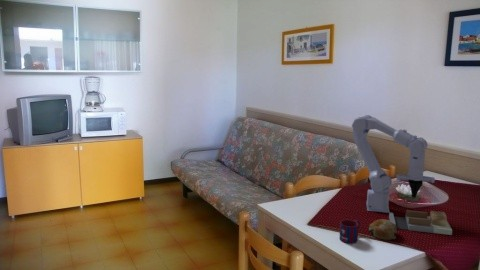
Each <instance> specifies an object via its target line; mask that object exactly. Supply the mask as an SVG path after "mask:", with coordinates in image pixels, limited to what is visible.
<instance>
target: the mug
mask: <svg viewBox="0 0 480 270" xmlns="http://www.w3.org/2000/svg"><path fill="white" fill-rule="evenodd" d="M359 230H360V221H359V220H357V219H356V220H354V219H353V220H352V219H342V220H341V221H339V240H340V242H342V243H345V244H351V245H353V244H356V243H358V241H359V240H358V239H359Z"/></svg>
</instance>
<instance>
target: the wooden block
mask: <svg viewBox="0 0 480 270" xmlns="http://www.w3.org/2000/svg"><path fill="white" fill-rule="evenodd" d="M429 214H430V215H429V217H430V220H431V223H432V225H439V226H446V220H447V219H448V218H447V217H448V216H447V215H446V213H445V212H444V211H436V210H430V213H429ZM447 221H448V220H447Z"/></svg>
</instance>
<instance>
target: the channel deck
mask: <svg viewBox="0 0 480 270" xmlns="http://www.w3.org/2000/svg"><path fill="white" fill-rule="evenodd" d="M388 220H390V222H392V223H393V224H394V225H395V226H396V228H397V230H405V231H413V232H422V233H428V234H429V233H431V234H439V235H440V234H441V235H449V236H452V235H453V229H452V227H451V225H450V223H449V222H448V220H446V226H439V225H432V223H431V220H430V215H429V216H428V212H427V211H419V210H418V211H417V210H408V209H406V211H405V217H400V216H394V212H390V211H389V213H388Z"/></svg>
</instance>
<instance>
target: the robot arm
mask: <svg viewBox="0 0 480 270" xmlns="http://www.w3.org/2000/svg"><path fill="white" fill-rule="evenodd" d="M351 127H352V140H353V142H354V143H355V145H356V147H357V150H358V152H359V154H360V156H361V158H362V159H363V162H364V164H365V166H366V168H367V170H368V171H369V172H368V173H369V176H368V178H369V181H370V187H371V189H367V195H366V196H367V197H366V202H365V203H366V211H369V212H377V213H378V212H379V213H387V214H389V212H390V208H389V200H390V187H391V186H392V184H393V183H392V178H391V177H390V176H389V175H388V173H387V172H386V170H384V169H383V168H382V167H381V166H380V163H379V161H378V159H377V157H376V156H375V153H374V151H373V148H372V147H371V145H370V143H369V141H368V139H367V136H368V133H369V131H370V130H377V131H379V132H381V133H383V134H385V135H388V136H390V137H391V138H393V142H396V143H397V144H399V145H401V146H403V147H405V148H408V150H409V153H410V154H409V163H408V173H407V174H396V181H408V185H409V187H410V191H411V198H413V199H416V198H417V195H418V193H419V190H420V189H421V187H422V186H423V184H424V183H425V182H426V183H432V184H434V183H435V181H436V178H435V177H433V176H428V175H424V170H425V169H424V168H425V157H426V149H427V148H428V142H427V140H426V139H425V138H424V137H419V136H418V135H413V134H411V133H409V132H407V129H396V128H394V127H392V126H390V125H388V124H386V123H385V122H383V121H381V120H379V119H378V118H376V117H373V116H371V115H369V114H368V115H367V114H366V115H363V116H357V117H356V118H355V119H354V120H353V121H352V124H351ZM423 182H424V183H423Z"/></svg>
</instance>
